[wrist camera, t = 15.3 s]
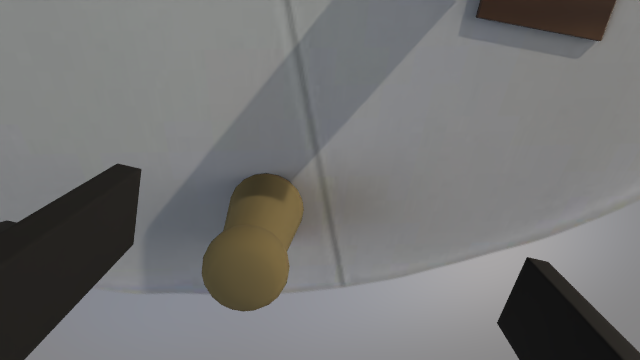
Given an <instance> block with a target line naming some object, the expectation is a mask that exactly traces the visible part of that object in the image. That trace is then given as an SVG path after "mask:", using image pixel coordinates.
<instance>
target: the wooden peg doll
mask: <svg viewBox="0 0 640 360" xmlns="http://www.w3.org/2000/svg"><path fill="white" fill-rule="evenodd" d="M303 210H304V209H303V202H302V198H301V196H300V194H299V192H298V190H297V189H296V188H295V187H294V186H293V185H292V184H291V183H290V182H289V181H288V180H286V179H284V178H282V177H280V176H278V175H272V174H267V173H266V174H257V175H253V176H251V177H249V178H246V179H244V180H243V181H242V182H241V183H240V184H239V185H238V186H237V187H236V188H235V190H234V192H233V194H232V196H231V200H230V204H229V208H228V213H227V217H226V222H225V226H224V230H223V232H222V233H220V234H219V235H218V236H217V237H216V238H215V239H214V240H213V241H212V242H211V243H210V245H209V247H208V249H207V251H206V253H205V255H204V257H203V265H202V277H203V281H204V285H205V286H206V288H207V289H208V291H209V292H210V294H211V296H212V297H213V298H214V299H215V300H217V301H218V302H219V303H220V304H221V305H223V306H226V307H228V308H230V309H232V310H238V311H252V310H256V309H259V308H261V307H264V306H266V305H269V304H270V303H271V302H272V301H274V300H275V299H276V298H277V297H278V296H279V295H280V293H281V291H282V290H283V288H284V286H285V285H286V283H287V278H288V273H289V261H288V255H287V250H288V248H289V246H290V244H291V242H292V240H293V237H294V235H295V233H296V231H297V229H298V227H299V225H300V223H301V220H302V216H303Z"/></svg>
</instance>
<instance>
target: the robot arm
mask: <svg viewBox="0 0 640 360" xmlns="http://www.w3.org/2000/svg"><path fill="white" fill-rule="evenodd" d="M140 177H141V169H139V168H134V167H130V166H126V165H121V164H116V165H114V166H112V167H111V168H109V169H107V170H106V171H104V172H102V173H101V174H99V175H97V176H95V177H94V178H92V179H90V180H89V181H87V182H85V183H84V184H82V185H80V186H79V187H77V188H75V189H73V190H72V191H70V192H68V193H67V194H65V195H63V196H62V197H60V198H58V199H56V200H55V201H53V202H51V203H50V204H48V205H46V206H45V207H43V208H41V209H40V210H38V211H36V212H34V213H33V214H31V215H29V216H28V217H26V218H24V219H23V220H21V221H19V222H18V223H16V222H12V221H4V222H0V360H24V359H25V358H26V357H27V356H28V355H29V354H30V353H31V352H32V351H33V350H34V349H35V348H36V347H37V346H38V345H39V344H40V342H41V341H42V340H43V339H44V338H45V337H46V336H47V335H48V334H49V333H50V331H52V330H53V329H54V328H55V327H56V325H57V324H58V323H59V322H60V321H61V320H62V319H63V318H64V317H65V316H66V315H67V314H68V313H69V312H70V311H71V310H72V309H73V308H74V306H75V305H76V304H77V303H78V302H79V301H80V300H81V299H82V298H83V297H84V296H85V295H86V294H87V293H88V292H89V290H91V288H92V287H93V286H94V285H95V284H96V283H97V282H98V281H99V280H100V279H101V278H102V277H103V276H104V275H105V274H106V273H107V272H108V270H109V269H110V268H111V267H112V266H113V265H114V264H115V263H116V262H117V261H118V260H119V259H120V258H121V257H122V256H123V255H124V253H125V252H126V251H127V250H128V249H129V248H130V247H131V246H132V245H133V242H134V233H135V223H136V214H137V205H138V196H139V186H140ZM497 324H498V325H499V327H500V329H501V330H502V332H503V333H504V335H505V337H506V338H507V340H508V342H509V343H510V345H511V346H512V348H513V350H514V351H515V353H516V355H517V356H518V358H519V360H640V353H639V352H638V351H637V350H636V349H635V348H634V347H633V346H632V345H631V344H630V343H629V342H628V341H627V340H626V339H625V338H624V337H623V336H622V335H621V334H620V333H619V332H618V331H617V330H616V329H615V328H614V327H613V326H612V325H611V324H610V323H609V322H608V321H607V320H606V319H605V318H604V317H603V316H602V315H601V314H600V313H599V312H598V311H597V310H596V309H595V308H594V307H593V306H592V305H591V304H590V303H589V302H588V301H587V300H586V299H585V298H584V297H583V296H582V295H581V294H580V293H579V292H578V291H577V290H576V289H575V288H574V287H573V286H572V285H571V284H570V283H569V282H568V281H567V280H566V279H565V278H564V277H563V276H562V275H561V274H560V273H559V272H558V271H557V270H556V269H555V268H554V267H553V266H552V265H551V264H550V263H549V262H546V261H542V260H537V259H532V258H528V257H527V258H526V261H525V263H524V265H523V267H522V270H521V271H520V274H519V276H518V278H517V280H516V282H515V285H514V287H513V289H512V291H511V294H510V296H509V298H508V300H507V302H506V304H505V307H504V309H503V311H502V313H501V316H500V318H499V320H498V322H497Z"/></svg>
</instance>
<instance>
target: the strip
mask: <svg viewBox="0 0 640 360" xmlns="http://www.w3.org/2000/svg"><path fill="white" fill-rule="evenodd" d="M615 3H616V0H481V1H480V4H479V8H478V11H477V15H476V18H482V19H487V20H492V21H497V22H502V23H507V24H513V25H518V26H523V27H528V28H533V29H539V30H544V31H549V32H554V33H559V34H564V35H570V36H575V37H580V38H585V39H590V40H596V41H601V40H602V38H603V35H604V32H605V30H606V27H607V24H608V22H609V19H610V16H611V14H612V11H613V8H614V6H615Z"/></svg>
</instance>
